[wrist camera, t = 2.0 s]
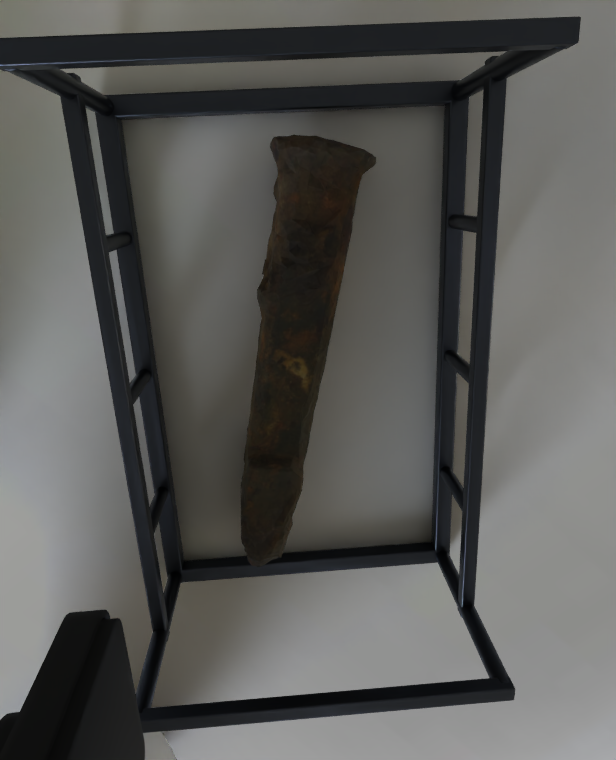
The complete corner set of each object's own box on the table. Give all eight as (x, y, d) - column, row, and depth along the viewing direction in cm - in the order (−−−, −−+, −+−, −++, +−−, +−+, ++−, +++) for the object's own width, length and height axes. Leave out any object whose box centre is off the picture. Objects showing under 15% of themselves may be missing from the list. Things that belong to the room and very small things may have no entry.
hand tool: (275, 132, 23) (274, 118, 18) (368, 155, 23) (389, 145, 19) (205, 522, 28) (192, 582, 24) (281, 534, 29) (282, 595, 24)
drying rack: (463, 83, 22) (586, 11, 14) (445, 552, 30) (517, 702, 21) (98, 98, 22) (-21, 33, 13) (170, 574, 29) (126, 737, 20)
